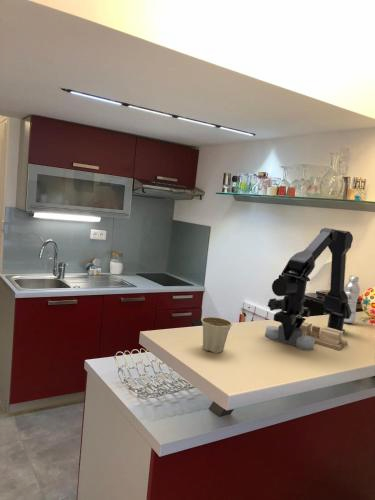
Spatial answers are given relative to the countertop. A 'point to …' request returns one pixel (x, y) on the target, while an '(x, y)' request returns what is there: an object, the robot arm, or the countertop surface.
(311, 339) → the grey dumbbell shape
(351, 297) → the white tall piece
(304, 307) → the robot arm
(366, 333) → the countertop surface
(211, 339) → the flower pot
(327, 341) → the display stand
